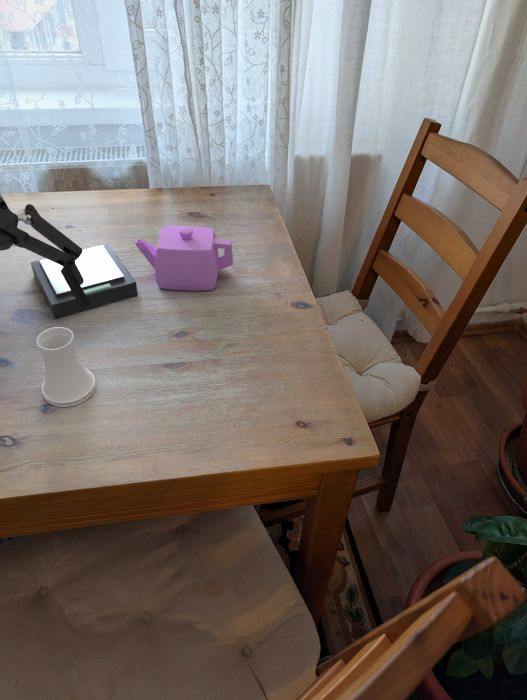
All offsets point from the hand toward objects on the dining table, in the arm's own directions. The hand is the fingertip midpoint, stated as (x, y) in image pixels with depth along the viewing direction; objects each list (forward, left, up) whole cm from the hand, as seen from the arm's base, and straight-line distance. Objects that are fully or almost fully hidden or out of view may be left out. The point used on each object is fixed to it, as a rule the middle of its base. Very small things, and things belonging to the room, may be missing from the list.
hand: (42, 326), depth 74 cm
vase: (+1, -4, -10) cm, 10 cm away
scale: (+11, +21, -9) cm, 25 cm away
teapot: (+29, +15, -10) cm, 34 cm away
